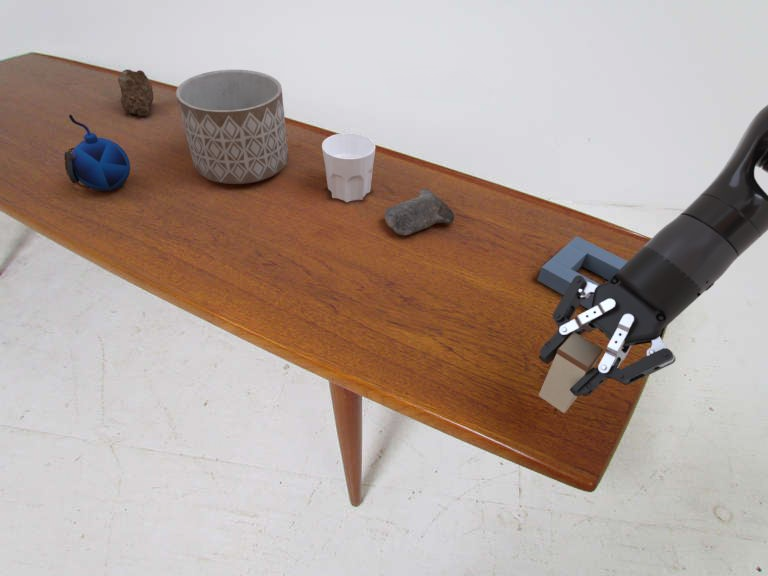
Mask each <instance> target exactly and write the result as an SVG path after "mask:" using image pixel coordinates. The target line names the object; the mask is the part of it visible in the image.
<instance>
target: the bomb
mask: <svg viewBox="0 0 768 576" xmlns="http://www.w3.org/2000/svg"><path fill="white" fill-rule="evenodd" d="M68 118H69V120H70V121H71V122H72V123H73V124H75V125H76V126H80V127H82V128H83V129H84V130H85V132H86V134H84V135H83V139H84V140H82V141H80V142H79V143H78V144H77V145H75V147H71V148H69V149H68V150H67V151H65V152H64V168H65V171H66V176H68V178H69V180H70V182H71V183H72V184H76V185H78V186H79V187H81V188H84V189H87V190H90V189H92V190H95V191H99V192H109V191H113V190H116V189H118V188H120V187H121V186H122V185H123V184H125V183H126V182H127V179H128V178H129V176H130V173H131V162H130V158H129V156H128V155H127V153H126V151H125V150H124V149H123V147H122V146H120V144H118V143H117V142H115V141H112V140H111V139H107V138H105V137H98V136H97V134H95V133H94V132H91V131H90V129H89V127H88V126H87V125H85V124H84V123H81V122H79V121H78V120H75V119H74V117H73V115H72V114H68Z"/></svg>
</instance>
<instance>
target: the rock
mask: <svg viewBox="0 0 768 576" xmlns="http://www.w3.org/2000/svg"><path fill="white" fill-rule="evenodd" d="M117 79H118V80H117V82H118V85H119V88H120V93H121V97H120V103H121V105H122V108H123V111H124V112H125V113H126V114H129V115H131V114H134V115H137V116H138V117H142V118H143V117H144V118H146V117H147V116H148V115H149V113H150V106H151V105H153V101H154V91H153V85H152V84H151V82H150V80H149V77H147V75H146V73H145V71H143V70H140V69H139V70H137V71H135V70H131V69H124V70H122V72H121V73H120V74H119V76H118V77H117Z"/></svg>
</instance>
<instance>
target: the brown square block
mask: <svg viewBox="0 0 768 576" xmlns="http://www.w3.org/2000/svg"><path fill="white" fill-rule="evenodd" d="M603 352H604V348H602V347H601V346H599V345H597V344H596V343H594V342H593V341H591V340H589V339H587V338H585V337H584V336H582V335H579V334H577V333H575V332H573V333H572V334H571V335H570V336H569V337H568V339H567V340H566V341H565V342H564V343H563V344H562V345H561V346H560V347H559V348H558V350H557V352H556V353H557V354H556V356H555V358H554V360H553V361H552V362H551V365H550V367H549V370H548V372H547V374H546V376H545V379H544V381H543V383H542V385H541V389H540V390H539V393H538V397H539V398H541V399H542V400H544V401H546V402H547V403H548V404H550V405H551V406H553V407H554V408H556V409H557V410H558V411H560V412H561V413H563V414H565V413H566V412H567V411H568V409H569V408H570V407H571V406H572V405H573V403H575V401H576V400H577V398H578V397H577V396H575V395H574V394H573V393H572V392H571V391H570V388H571V387H572V386H573V385H574V384H575V383H577V382H578V381H579V380H580V379H581V378H582V377H583V376H584V375H585V374H586V373H587V372H588V371H589V370H591V369H592V368H593V367H594V368H595V366H596V364H597V362H598V360H599V358H600V356H601V355H602V354H603Z"/></svg>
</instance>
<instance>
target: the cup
mask: <svg viewBox="0 0 768 576" xmlns="http://www.w3.org/2000/svg"><path fill="white" fill-rule="evenodd" d="M376 148H377V147H376V143H375V142H374V140H373V139H371V138H370V137H368V136H367V135H363V134H361V133H360V134H359V133H355V132H342V133H336V134H333V135H330V136H328V137H326V138H325V139H324V140H323V141H322V143H321V149H322V156H323V162H324V168H325V176H326V184H327V190H328V191H330V192H331V198H332V199H338V200H340V201H344V202H345V203H349V202H353V201H363V200H364V197H365V196H366V195H367V194H369V193H371V187H372V180H373V169H374V162H375V154H376Z"/></svg>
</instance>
